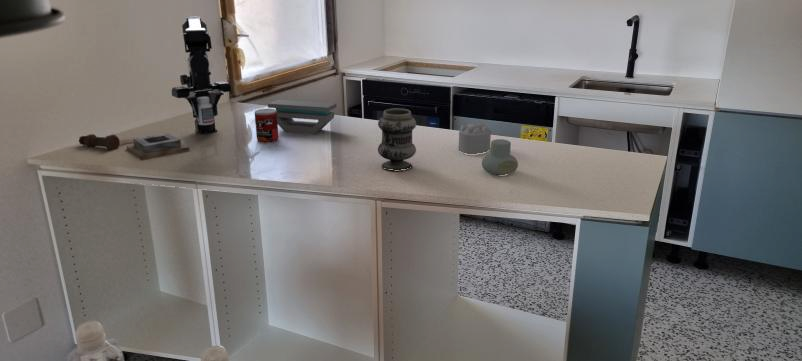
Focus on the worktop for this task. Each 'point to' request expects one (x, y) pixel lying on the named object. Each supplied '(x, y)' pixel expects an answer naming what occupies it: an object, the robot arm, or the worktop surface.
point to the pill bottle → (204, 111)
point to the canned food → (266, 125)
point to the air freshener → (500, 158)
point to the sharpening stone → (302, 115)
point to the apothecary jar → (397, 138)
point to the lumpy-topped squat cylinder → (474, 138)
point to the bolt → (100, 141)
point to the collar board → (154, 154)
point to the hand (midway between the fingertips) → (205, 114)
